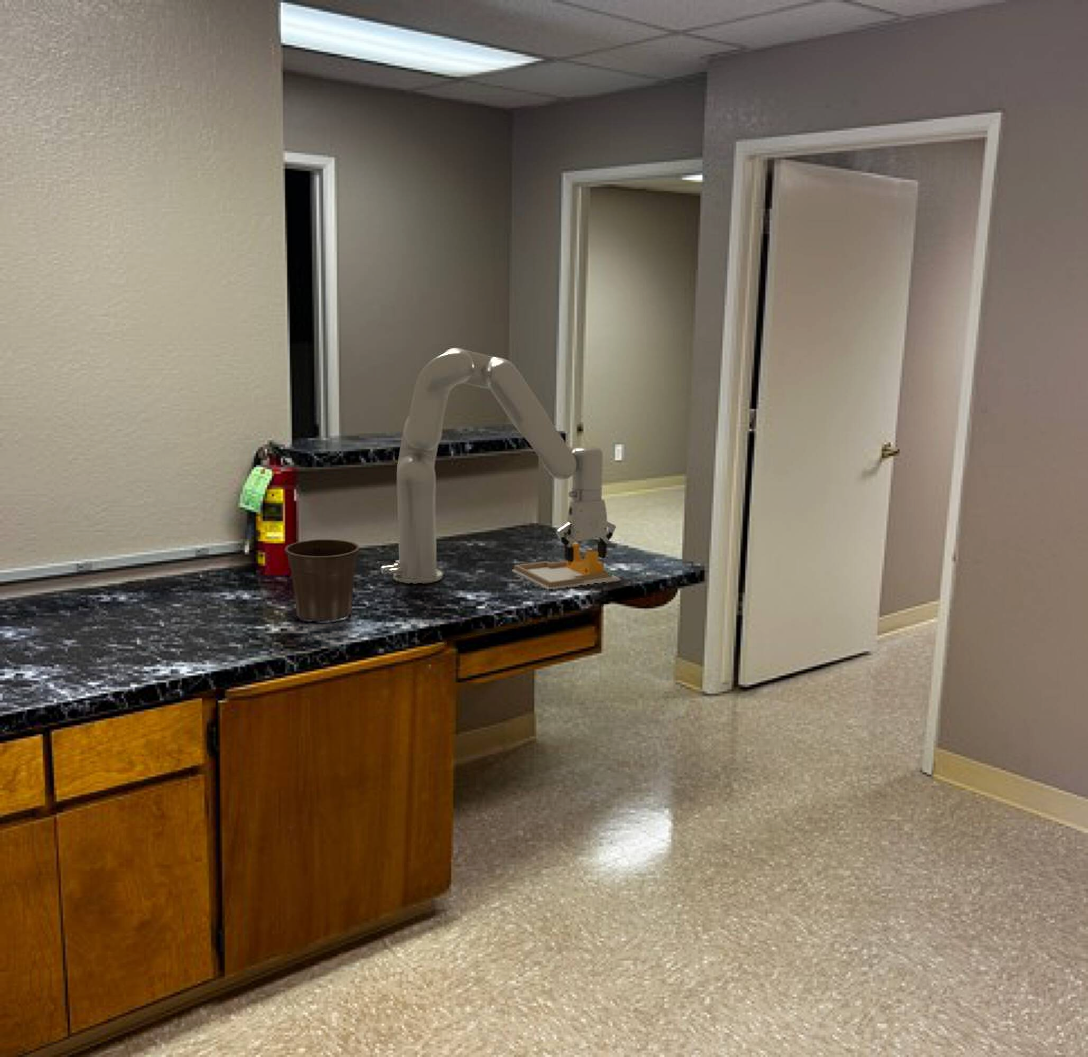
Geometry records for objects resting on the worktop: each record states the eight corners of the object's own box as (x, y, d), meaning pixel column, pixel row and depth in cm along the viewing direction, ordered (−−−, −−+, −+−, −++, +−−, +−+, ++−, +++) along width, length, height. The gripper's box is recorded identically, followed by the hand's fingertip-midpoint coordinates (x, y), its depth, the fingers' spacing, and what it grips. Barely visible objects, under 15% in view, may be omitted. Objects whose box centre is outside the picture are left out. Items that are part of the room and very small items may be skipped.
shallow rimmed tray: (547, 590, 266) (547, 583, 266) (512, 571, 284) (512, 565, 283) (620, 580, 276) (620, 573, 276) (581, 563, 293) (581, 556, 293)
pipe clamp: (603, 575, 278) (604, 551, 277) (589, 577, 276) (589, 553, 275) (580, 565, 289) (581, 541, 287) (566, 567, 287) (566, 543, 285)
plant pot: (375, 616, 244) (373, 547, 240) (314, 632, 232) (312, 559, 229) (334, 602, 255) (331, 535, 251) (274, 616, 244) (271, 546, 240)
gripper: (564, 499, 271) (563, 565, 275) (623, 495, 279) (621, 559, 282) (550, 494, 277) (549, 559, 281) (608, 490, 285) (606, 553, 289)
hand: (585, 559), depth 282 cm, fingers open, 9 cm apart
